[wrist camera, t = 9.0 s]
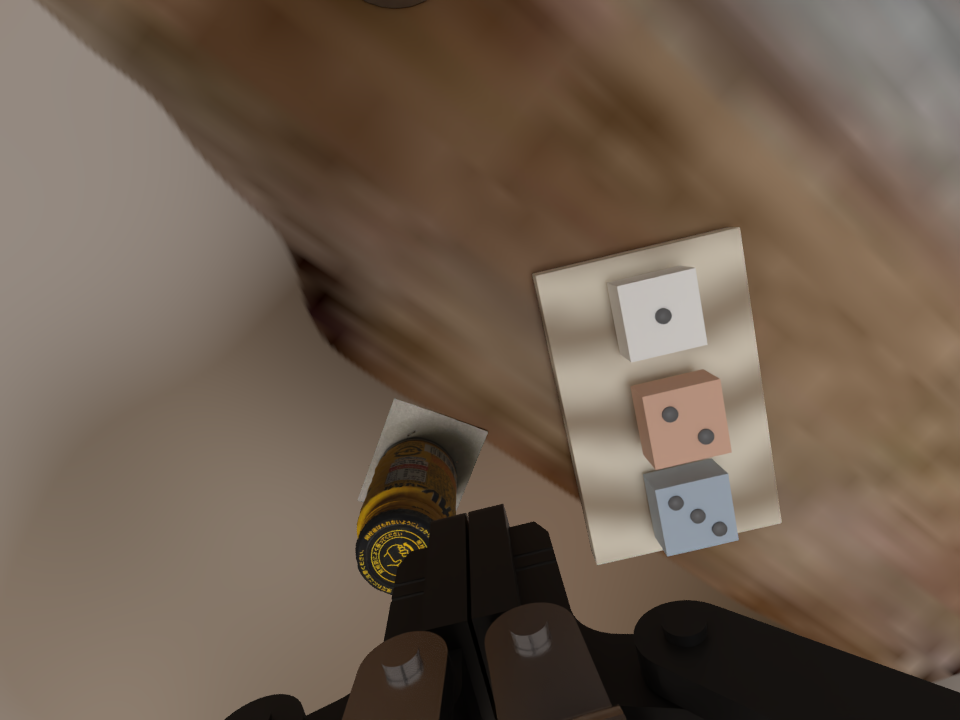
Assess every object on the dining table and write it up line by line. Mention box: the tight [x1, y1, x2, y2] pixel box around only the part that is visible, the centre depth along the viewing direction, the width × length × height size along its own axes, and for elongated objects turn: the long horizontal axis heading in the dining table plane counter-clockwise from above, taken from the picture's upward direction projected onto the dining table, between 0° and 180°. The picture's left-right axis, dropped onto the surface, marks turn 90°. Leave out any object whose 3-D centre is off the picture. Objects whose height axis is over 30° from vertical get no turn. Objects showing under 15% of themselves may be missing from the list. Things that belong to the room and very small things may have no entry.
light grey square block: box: [607, 265, 708, 363], centre depth 40 cm, size 5×5×3 cm
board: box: [532, 227, 782, 565], centre depth 44 cm, size 22×14×4 cm, turn 13°
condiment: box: [356, 399, 488, 595], centre depth 40 cm, size 7×8×12 cm
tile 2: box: [630, 369, 732, 470], centre depth 41 cm, size 5×5×3 cm
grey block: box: [643, 458, 739, 556], centre depth 43 cm, size 5×5×3 cm
